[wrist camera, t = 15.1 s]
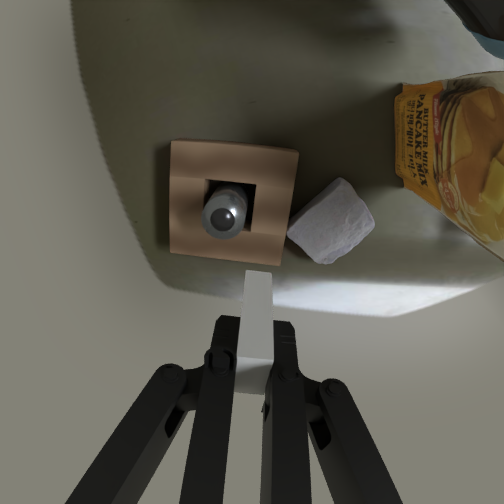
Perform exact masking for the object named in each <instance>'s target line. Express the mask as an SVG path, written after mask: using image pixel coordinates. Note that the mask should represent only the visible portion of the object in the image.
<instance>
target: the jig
mask: <svg viewBox="0 0 504 504" xmlns="http://www.w3.org/2000/svg"><path fill="white" fill-rule="evenodd" d="M298 159H299V152H298V151H297V150H296V149H289V148H282V147H275V146H268V145H260V144H251V143H242V142H231V141H220V140H206V139H187V138H179V139H176V140H173V141H171V158H170V194H169V226H170V253H177V254H185V255H193V256H201V257H209V258H217V259H226V260H234V261H242V262H251V263H259V264H267V265H276V266H280V263H281V257H282V252H283V247H284V241H285V236H286V230H287V225H288V219H289V213H290V207H291V201H292V196H293V190H294V184H295V177H296V171H297V165H298ZM210 179H211V180H222V181H232V182H241V183H250V184H256V192H255V201H254V209H253V217H252V221H248V220H245V223H244V227H243V229H242V231H241V232H240V233H239V234H238V235H237V236H235V237H233V238H231V239H226V240H222V239H217V238H214V237H212V236H211V235H209V234H208V233H207V232H206V231H205V229H204V228H203V225H202V222H201V214H202V211H203V209H204V207H205V206H206V204H207V202H208V201H209V187H210Z"/></svg>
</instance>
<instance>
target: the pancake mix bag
mask: <svg viewBox="0 0 504 504" xmlns="http://www.w3.org/2000/svg"><path fill="white" fill-rule="evenodd" d="M394 121H395V174H396V175H398V176H399V177H401V178H402V179H403V183H404V189H408V190H412V191H413V192H414V193H416V194H417V195H418V196H419V197H421V198H422V199H423V200H424V201H426V202H427V203H428V204H430V205H431V206H433V207H434V208H436V209H437V210H438V211H439V212H441V213H442V214H443V215H444V216H445V217H447V218H448V219H449V220H450V221H452V222H453V223H454V224H455V225H456V226H457V227H458V228H460V229H461V230H462V231H463V232H465V233H466V234H468V235H469V236H471V237H472V238H473V239H474V240H475V241H476V242H477V243H478V244H479V245H481V246H482V247H483V248H485V249H486V250H488V251H489V252H491V253H492V254H493V255H495V256H496V257H497V258H499V259H500V260H502V261H503V262H504V71H489V72H482V73H474V74H467V75H463V76H459V77H456V78H453V79H445V80H439V81H433V82H430V83H427V84H421V85H412V84H407V83H404V82H403V89H402V93H400V94H399V95H397V96H396V97H395V102H394Z"/></svg>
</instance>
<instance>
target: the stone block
mask: <svg viewBox="0 0 504 504" xmlns="http://www.w3.org/2000/svg"><path fill="white" fill-rule="evenodd" d="M374 227H375V225H374V220H373V217H372V215H371V214H370V212H369V210H368V208H367V206H366V204H365V203H364V201H363V200H362V199H360V198H359V196H358V195H357V194H356V192H355V190H354V189H353V187H352V185H351V184H350V183H348V182H347V181H346V180H345V179H343V178H341V177H339V178H337V179H335V180H334V181H333V182H332V183H330V184H329V185H328V186H327V187H326V188H325V189H324V190H322V191H321V192H320V193H319V194H318V195H317V196H316V197H314V198H313V199H312V200H311V201H310V202H309V203H307V204H306V205H305V206H304V207H303V208H302V209H301V210H300V211H298V212H297V213H296V214H295V215H294V216H292V217H291V218H290V219H289V220H288V225H287V230H286V235H287V236H288V237H289V238H290V239H291V240H293V241H294V242H295V243H296V244H298V245H299V246H300V247H301V248H302V249H303V250H304V251H305V252H306V253H307V254H308V255H309V256H310V257H311V258H312V259H313V260H314V261H315V262H317V263H319V264H320V263H324V264H329V263H333V262H334V261H335V260H336V259H337V258H338V257H340V256H343V255H344V254H346V253H347V252H349V251H350V250H351V249H352V248H353V247H354V246H356V245H357V244H358V243H359V242H360V241H361V240H362V239H363V238H364V237H365V236H367V235H368V234H369V233H370V232H371V230H372V229H373V228H374Z"/></svg>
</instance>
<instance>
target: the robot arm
mask: <svg viewBox="0 0 504 504" xmlns="http://www.w3.org/2000/svg"><path fill="white" fill-rule="evenodd" d="M444 1H445V2H446V3H447V4H448V6H449V7H450V8H451V9H452V10H453V11H454V12H455V14H456V15H457V16H458V17H459V18H460V20H461V21H462V23H463V25H464V26H465V28H466V29H467V30H468V31H470V32H471V33H472V34H473V36H474V37H475V38H476V40H477V41H478V42H479V43H480V45H481V46H482V47H483V48H484V49H485V50H486V51H487V52H489V53H490V54H492V55H493V56H495V57H498V58H500V59H504V0H444ZM234 392H239V393H249V394H260V395H264V393H265V401H264V404H263V408H262V411H261V412H263V436H262V466H261V493H260V504H312V499H311V478H310V460H309V446H308V433H309V436H310V439H311V441H312V444H313V447H314V450H315V452H316V455H317V458H318V461H319V463H320V466H321V469H322V471H323V474H324V477H325V480H326V482H327V485H328V488H329V490H330V493H331V496H332V498H333V501H334V504H403V503H402V501H401V499H400V496H399V494H398V492H397V490H396V488H395V485H394V483H393V481H392V479H391V477H390V475H389V472H388V470H387V468H386V466H385V464H384V462H383V460H382V458H381V455H380V453H379V452H378V449H377V447H376V445H375V443H374V441H373V439H372V437H371V435H370V433H369V431H368V429H367V427H366V424H365V422H364V420H363V418H362V416H361V414H360V412H359V410H358V408H357V406H356V404H355V402H354V400H353V398H352V396H351V394H350V392H349V390H348V388H347V386H346V385H345V384H344V383H343V382H341V381H340V380H338V379H326V380H324V381H323V382H322V383H321V382H317V381H314V380H311V379H309V378H307V377H305V376H304V375H303V374H302V373H301V372H300V370H299V367H298V359H297V348H296V340H295V330H294V327H293V326H292V324H291V323H290V322H286V321H276V320H273V299H272V273H268V272H259V271H251V270H246V276H245V284H244V293H243V301H242V310H241V317H234V316H226V315H221V316H220V317H219V318H218V320H216V323H215V329H214V333H213V337H212V342H211V347H210V349H209V350H208V351H206V353H205V355H204V365H202V366H201V367H198V368H194V369H186V370H183V368H182V367H180V366H179V365H176V364H165V365H162V366H161V367H159V368H158V369H157V370H156V372H155V373H154V374H153V376H152V377H151V379H150V380H149V382H148V383H147V385H146V386H145V387H144V389H143V390H142V392H141V393H140V394H139V396H138V398H137V399H136V401H135V402H134V403H133V404H132V406H131V407H130V409H129V410H128V412H127V413H126V415H125V416H124V418H123V419H122V420H121V422H120V423H119V425H118V426H117V428H116V429H115V430H114V432H113V434H112V435H111V436H110V438H109V439H108V441H107V442H106V444H105V445H104V446H103V448H102V450H101V451H100V452H99V454H98V455H97V457H96V458H95V460H94V461H93V463H92V464H91V466H90V467H89V468H88V470H87V471H86V473H85V474H84V476H83V477H82V479H81V480H80V482H79V483H78V485H77V486H76V488H75V489H74V491H73V492H72V494H71V495H70V497H69V498H68V500H67V501H66V503H65V504H137V503H138V501H139V499H140V497H141V496H142V494H143V492H144V490H145V489H146V487H147V485H148V483H149V482H150V480H151V478H152V476H153V475H154V473H155V471H156V469H157V468H158V466H159V464H160V462H161V460H162V459H163V457H164V455H165V453H166V451H167V450H168V448H169V446H170V444H171V442H172V440H173V439H174V437H175V435H176V433H177V431H178V430H179V428H180V426H181V424H182V422H183V420H184V419H185V417H186V415H187V413H188V411H190V410H196V413H195V418H194V423H193V428H192V434H191V439H190V444H189V450H188V456H187V461H186V466H185V472H184V478H183V484H182V489H181V495H180V501H179V504H223V494H224V483H225V473H226V463H227V453H228V443H229V434H230V424H231V413H232V404H233V394H234Z"/></svg>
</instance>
